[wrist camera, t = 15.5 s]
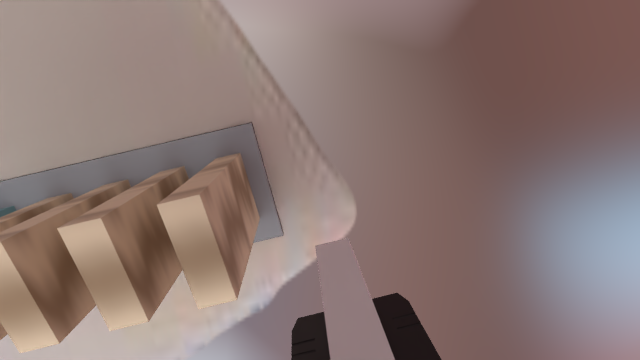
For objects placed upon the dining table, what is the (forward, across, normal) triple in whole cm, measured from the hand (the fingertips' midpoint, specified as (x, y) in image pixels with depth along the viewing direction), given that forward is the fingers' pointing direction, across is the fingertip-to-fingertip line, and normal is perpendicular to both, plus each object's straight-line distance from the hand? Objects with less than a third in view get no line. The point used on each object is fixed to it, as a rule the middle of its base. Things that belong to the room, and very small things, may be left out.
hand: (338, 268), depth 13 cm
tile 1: (+17, -8, 0) cm, 19 cm away
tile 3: (+17, -19, 0) cm, 26 cm away
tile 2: (+17, -13, 0) cm, 22 cm away
